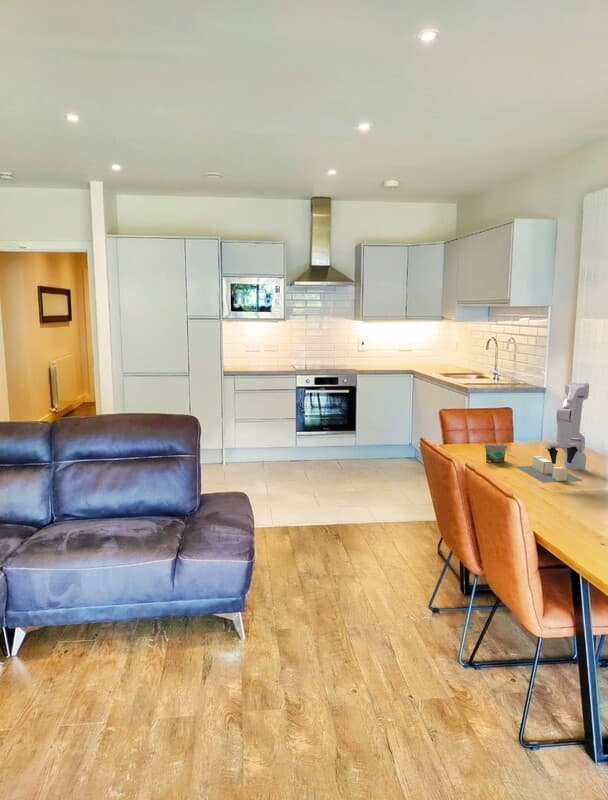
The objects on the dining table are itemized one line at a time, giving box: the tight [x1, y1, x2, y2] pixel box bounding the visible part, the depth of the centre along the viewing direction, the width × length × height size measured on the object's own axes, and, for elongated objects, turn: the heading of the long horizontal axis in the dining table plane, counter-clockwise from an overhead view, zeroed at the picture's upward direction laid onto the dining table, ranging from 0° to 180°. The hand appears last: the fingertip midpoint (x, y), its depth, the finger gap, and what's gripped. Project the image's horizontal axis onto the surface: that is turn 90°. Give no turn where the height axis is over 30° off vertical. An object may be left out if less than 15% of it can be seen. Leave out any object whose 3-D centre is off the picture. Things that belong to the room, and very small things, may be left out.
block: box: [552, 466, 569, 481], centre depth 256 cm, size 4×5×5 cm
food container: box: [484, 442, 508, 465], centre depth 285 cm, size 12×6×10 cm, turn 105°
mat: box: [515, 465, 584, 484], centre depth 266 cm, size 20×26×1 cm
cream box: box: [531, 455, 554, 474], centre depth 271 cm, size 4×11×6 cm, turn 6°
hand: (561, 463), depth 254 cm, fingers open, 7 cm apart
